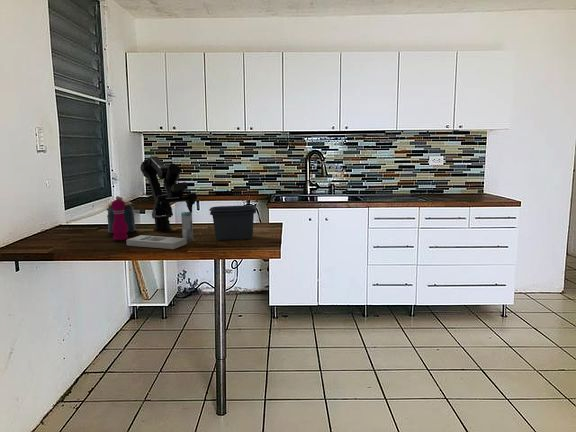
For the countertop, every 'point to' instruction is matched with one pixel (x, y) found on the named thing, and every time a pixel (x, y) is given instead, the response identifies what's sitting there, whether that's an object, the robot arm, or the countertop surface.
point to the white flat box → (156, 242)
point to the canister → (127, 216)
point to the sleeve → (187, 226)
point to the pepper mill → (119, 220)
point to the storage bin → (233, 221)
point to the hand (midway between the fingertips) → (182, 214)
